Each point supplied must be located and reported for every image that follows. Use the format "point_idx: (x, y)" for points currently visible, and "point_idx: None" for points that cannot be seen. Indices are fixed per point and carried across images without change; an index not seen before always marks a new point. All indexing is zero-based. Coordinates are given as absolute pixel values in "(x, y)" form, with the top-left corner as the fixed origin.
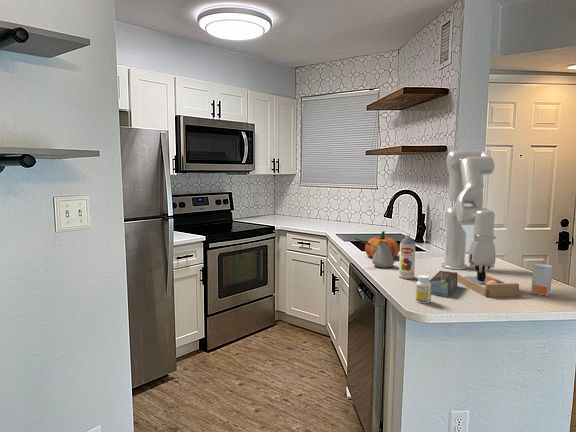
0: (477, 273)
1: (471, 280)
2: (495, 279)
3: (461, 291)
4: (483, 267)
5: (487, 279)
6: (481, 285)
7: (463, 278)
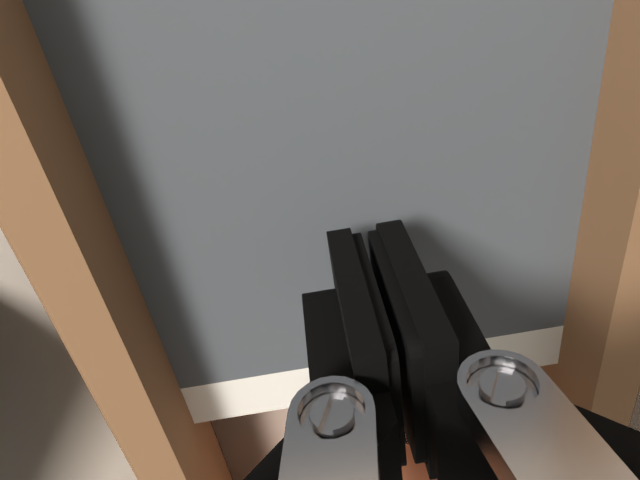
0: (310, 377)
1: (256, 71)
2: (637, 288)
3: (13, 469)
4: (542, 475)
5: (620, 43)
6: None
7: (21, 257)
